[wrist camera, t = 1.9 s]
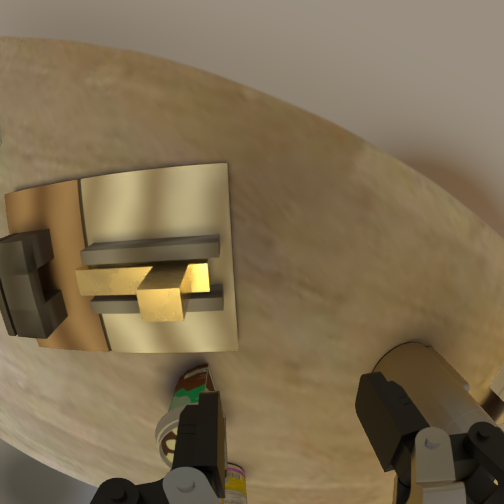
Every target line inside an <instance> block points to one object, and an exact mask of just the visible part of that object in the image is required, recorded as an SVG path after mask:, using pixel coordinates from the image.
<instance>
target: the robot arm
mask: <svg viewBox="0 0 504 504" xmlns="http://www.w3.org/2000/svg"><path fill="white" fill-rule="evenodd" d="M468 391H469V384H468V383H467V382H466V381H465V380H464V379H463V378H462V377H461V376H460V374H459V373H458V372H457V371H456V370H455V369H454V368H453V367H452V366H451V365H450V364H449V363H448V362H447V361H446V360H445V359H444V358H443V357H442V356H441V355H440V354H439V353H438V352H437V351H436V350H435V349H434V348H433V347H432V346H431V347H425V346H423V345H422V344H420V343H415V342H411V343H406V344H403V345H401V346H398V347H397V348H395V349H393V350H392V351H390V352H389V353H388V354H386V355H385V356H384V357H383V358H382V359H381V360H380V362H379V363H378V364H377V366H376V367H375V369H374V371H373V373H368V374H363V375H362V376H361V378H360V382H359V387H358V392H357V397H356V402H355V408H356V413H357V416H358V418H359V420H360V422H361V424H362V426H363V428H364V430H365V432H366V434H367V436H368V438H369V441H370V443H371V445H372V447H373V449H374V451H375V453H376V455H377V457H378V459H379V461H380V464H381V466H382V468H383V470H384V472H388V471H391V470H395V472H396V476H395V478H394V490H393V503H392V504H504V432H503V431H502V429H501V428H500V427H499V426H498V425H497V424H496V423H495V422H494V421H493V419H492V418H491V417H490V416H489V415H488V414H487V413H486V412H485V410H484V409H483V408H482V407H481V406H480V405H479V404H478V403H477V402H476V400H475V399H474V398H473V397H472V396H471V395H470V394H469V393H468ZM495 479H496V480H497V482H498V485H496V484H495V483H494V480H495ZM218 498H225V452H224V420H223V413H222V406H221V400H220V393H219V391H201V392H200V393H199V401H198V405H186V406H185V408H184V409H183V410H182V412H181V413H180V416H179V423H178V429H177V436H176V443H175V450H174V457H173V464H172V468H171V470H170V472H169V473H167V474H166V476H165V477H164V478H162V479H161V480H159V481H156V482H152V483H146V484H140V485H134V484H133V483H132V482H131V481H129V480H127V479H124V478H112V479H109V480H106V481H105V482H103V483H102V484H101V485H100V487H99V488H98V490H97V492H96V494H95V495H94V497H93V499H92V501H91V503H90V504H221V503H220V501H219V499H218Z"/></svg>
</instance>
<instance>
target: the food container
mask: <svg viewBox="0 0 504 504" xmlns="http://www.w3.org/2000/svg"><path fill="white" fill-rule="evenodd" d="M201 391H216V388H215V384H214V381H213V378H212V375H211V371H210V368H209V365H208V364H204V365H199V366H197V367H195V368H193V369H190V370H188V371H187V372H186V373H185V374H184V375H183V376H182V377H181V378H180V379H179V382H178V384H177V386H176V389H175V392H174V395H173V399H172V402H171V405H170V408H169V411H168V413H166V414H165V415H164V416H163V417H162V418H161V419H160V421H159V422H158V424H157V427H156V434H155V435H156V446H157V450H158V452H159V455H160V457H161V459H162V461H163V462H164V463H165V465H167V466H168V467H169V468H170V469H171V468H172V464H173V457H174V450H175V443H176V436H177V429H178V423H179V416H180V413H181V412H182V410H183V409H184V408H185V406H186V405H198V401H199V393H200V392H201ZM222 413H223V420H224V452H225V484H229V471H228V462H227V442H226V418H225V415H224V412H223V409H222Z"/></svg>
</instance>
